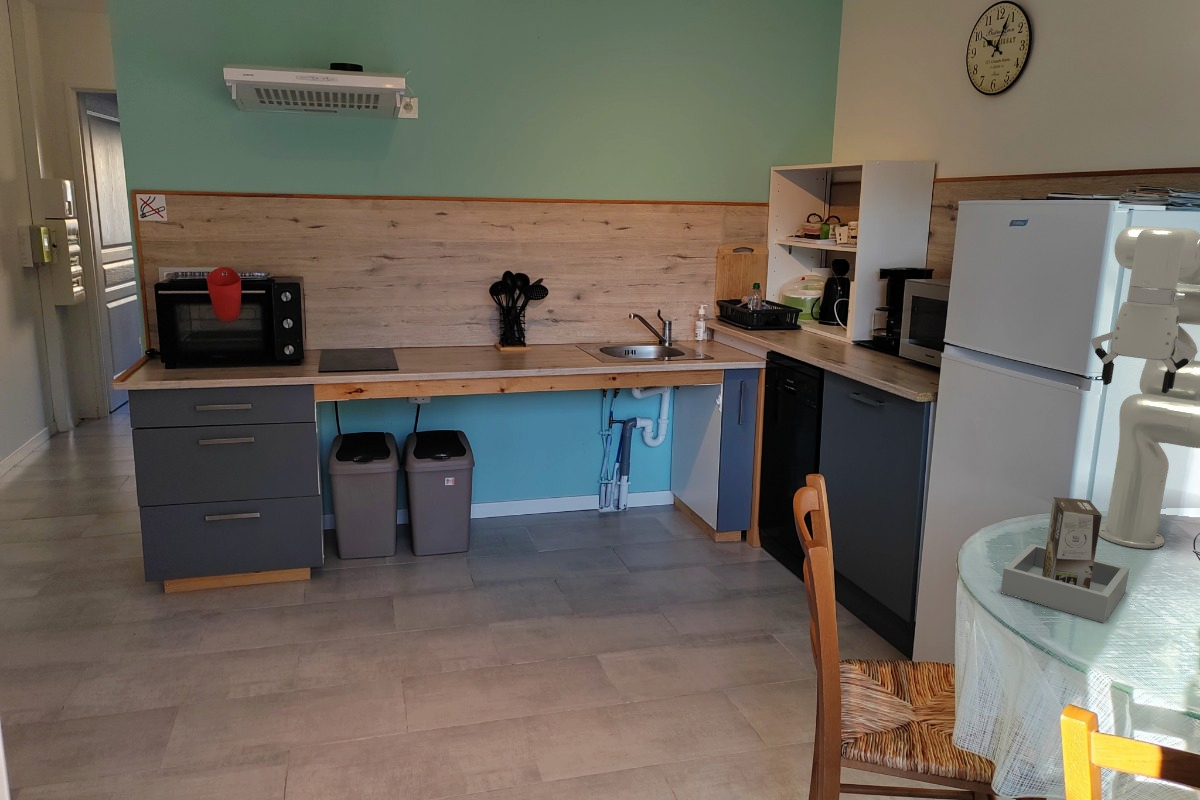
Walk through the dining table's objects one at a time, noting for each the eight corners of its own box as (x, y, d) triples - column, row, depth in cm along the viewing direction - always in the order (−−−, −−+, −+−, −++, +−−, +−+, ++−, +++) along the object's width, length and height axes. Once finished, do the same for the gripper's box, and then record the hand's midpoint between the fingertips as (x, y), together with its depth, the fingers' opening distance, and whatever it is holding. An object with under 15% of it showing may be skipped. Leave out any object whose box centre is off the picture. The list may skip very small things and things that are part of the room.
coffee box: (1089, 601, 161) (1103, 515, 158) (1049, 595, 163) (1062, 510, 160) (1077, 581, 170) (1091, 499, 166) (1040, 576, 172) (1052, 495, 168)
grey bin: (1028, 566, 178) (1031, 543, 177) (1125, 592, 168) (1129, 568, 166) (1000, 592, 166) (1003, 568, 164) (1103, 623, 155) (1108, 596, 154)
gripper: (1209, 300, 164) (1192, 392, 168) (1103, 291, 175) (1090, 378, 179) (1203, 303, 159) (1185, 398, 163) (1094, 293, 170) (1080, 383, 173)
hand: (1135, 387), depth 171 cm, fingers open, 9 cm apart
